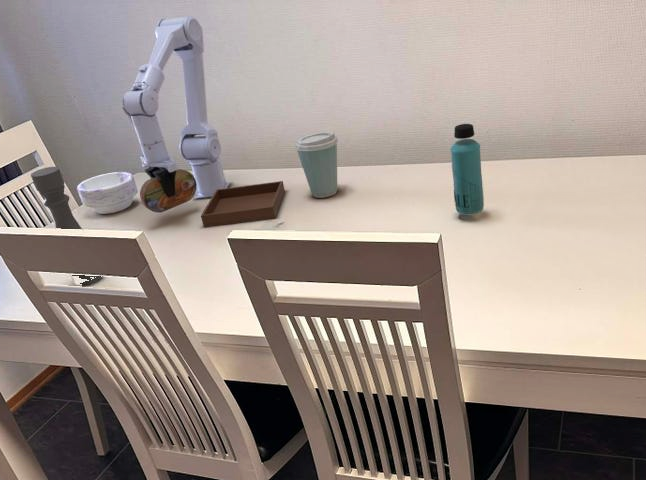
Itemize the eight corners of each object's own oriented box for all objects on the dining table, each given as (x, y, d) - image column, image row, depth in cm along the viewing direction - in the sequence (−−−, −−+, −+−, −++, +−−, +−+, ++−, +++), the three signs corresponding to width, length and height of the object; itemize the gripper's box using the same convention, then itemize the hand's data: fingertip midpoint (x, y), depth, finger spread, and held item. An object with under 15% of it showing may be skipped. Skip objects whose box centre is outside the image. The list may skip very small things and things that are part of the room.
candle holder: (78, 275, 160) (34, 169, 147) (105, 271, 160) (63, 164, 147) (71, 288, 155) (25, 178, 142) (99, 283, 155) (55, 173, 142)
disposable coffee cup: (298, 201, 180) (286, 142, 172) (316, 185, 188) (305, 129, 180) (335, 201, 176) (325, 141, 168) (352, 185, 184) (342, 127, 176)
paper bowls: (152, 197, 199) (143, 170, 195) (116, 219, 188) (106, 191, 184) (112, 196, 206) (102, 170, 201) (75, 217, 195) (64, 190, 190)
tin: (149, 217, 176) (140, 185, 171) (143, 214, 178) (134, 182, 173) (200, 197, 184) (193, 166, 179) (194, 194, 186) (186, 163, 181)
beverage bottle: (487, 209, 158) (482, 119, 147) (481, 221, 153) (476, 129, 142) (458, 209, 161) (452, 121, 150) (452, 221, 156) (444, 131, 145)
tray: (219, 200, 190) (216, 189, 188) (285, 191, 188) (282, 180, 186) (203, 227, 175) (200, 215, 173) (275, 218, 173) (272, 206, 171)
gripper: (123, 143, 174) (141, 195, 181) (151, 150, 164) (168, 205, 172) (148, 134, 178) (165, 186, 185) (177, 141, 168) (193, 195, 175)
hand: (168, 194), depth 179 cm, fingers closed on tin, 2 cm apart
